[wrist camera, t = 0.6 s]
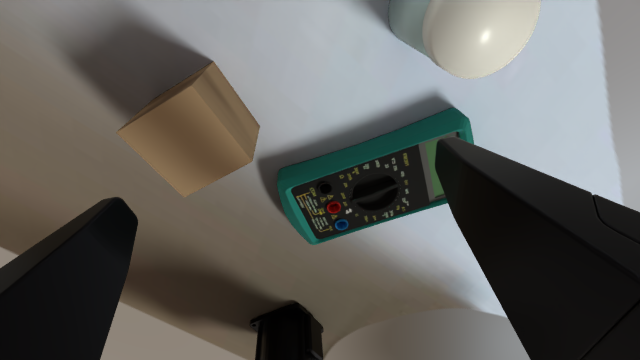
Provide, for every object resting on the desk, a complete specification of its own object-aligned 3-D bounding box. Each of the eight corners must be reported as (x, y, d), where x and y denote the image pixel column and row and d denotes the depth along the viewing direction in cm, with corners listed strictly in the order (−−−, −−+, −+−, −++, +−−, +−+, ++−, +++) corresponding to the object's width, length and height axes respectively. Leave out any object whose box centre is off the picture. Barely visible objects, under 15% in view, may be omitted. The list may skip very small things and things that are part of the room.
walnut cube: (203, 156, 22) (183, 197, 18) (152, 99, 20) (115, 132, 16) (259, 125, 21) (252, 161, 17) (213, 60, 19) (191, 85, 15)
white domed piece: (399, 59, 19) (447, 96, 13) (376, -9, 17) (419, -1, 11) (463, 24, 18) (544, 47, 13) (447, -52, 16) (535, -68, 10)
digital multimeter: (270, 168, 24) (267, 190, 21) (456, 101, 22) (477, 117, 19) (304, 229, 28) (305, 254, 25) (464, 178, 26) (481, 199, 23)
